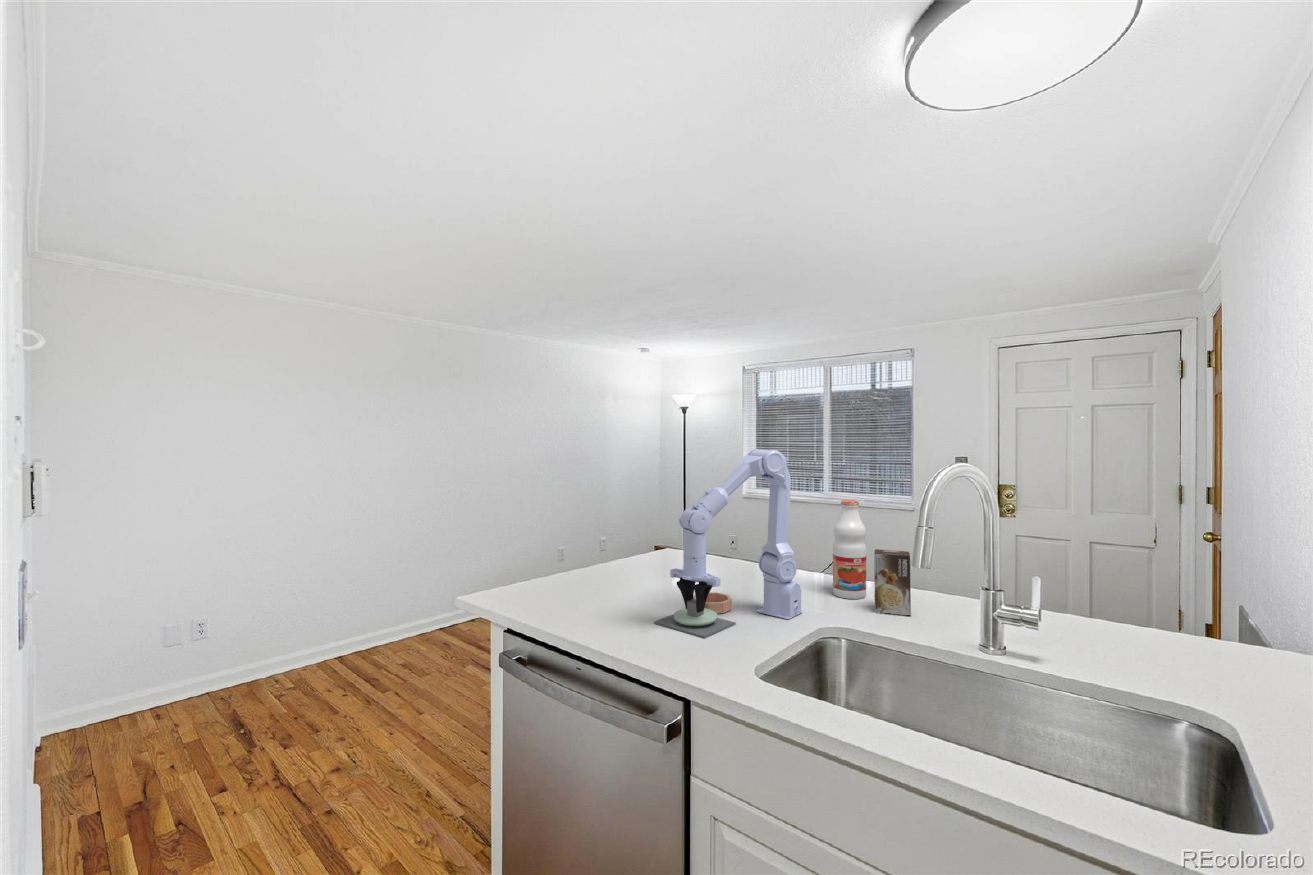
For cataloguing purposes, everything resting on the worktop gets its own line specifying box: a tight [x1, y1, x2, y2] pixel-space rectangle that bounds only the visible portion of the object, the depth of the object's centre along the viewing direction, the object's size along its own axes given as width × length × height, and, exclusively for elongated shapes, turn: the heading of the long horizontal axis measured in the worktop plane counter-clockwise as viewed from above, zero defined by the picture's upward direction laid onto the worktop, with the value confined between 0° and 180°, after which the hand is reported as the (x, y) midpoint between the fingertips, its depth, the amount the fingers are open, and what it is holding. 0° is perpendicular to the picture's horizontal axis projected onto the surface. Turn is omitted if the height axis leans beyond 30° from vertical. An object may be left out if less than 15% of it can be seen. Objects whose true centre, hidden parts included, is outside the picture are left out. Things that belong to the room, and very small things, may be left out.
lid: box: [673, 599, 718, 626], centre depth 149 cm, size 11×11×4 cm
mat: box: [653, 613, 736, 639], centre depth 149 cm, size 16×13×1 cm
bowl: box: [693, 591, 733, 615], centre depth 162 cm, size 10×10×3 cm
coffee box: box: [873, 548, 912, 616], centre depth 159 cm, size 9×6×16 cm
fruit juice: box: [832, 499, 867, 600], centre depth 174 cm, size 9×9×28 cm
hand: (694, 609), depth 149 cm, fingers closed on lid, 3 cm apart
